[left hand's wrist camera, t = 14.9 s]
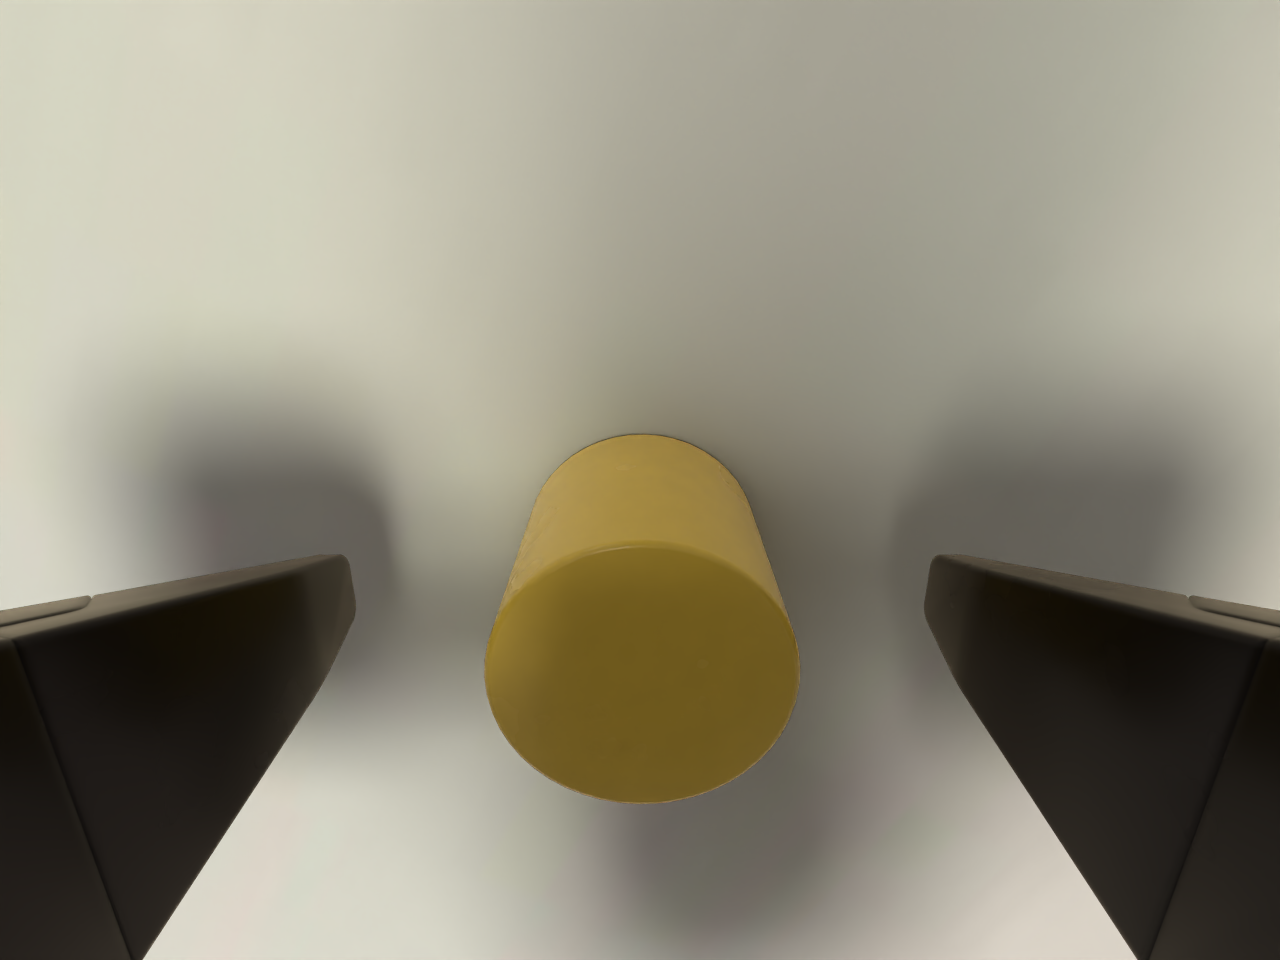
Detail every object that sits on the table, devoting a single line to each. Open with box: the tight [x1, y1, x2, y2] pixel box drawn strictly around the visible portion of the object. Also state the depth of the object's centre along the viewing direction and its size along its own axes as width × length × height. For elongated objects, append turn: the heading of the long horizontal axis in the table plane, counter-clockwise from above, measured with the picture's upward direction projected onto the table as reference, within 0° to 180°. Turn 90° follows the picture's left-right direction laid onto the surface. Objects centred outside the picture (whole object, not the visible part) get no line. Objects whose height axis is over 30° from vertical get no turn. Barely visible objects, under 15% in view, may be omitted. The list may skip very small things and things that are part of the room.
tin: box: [484, 434, 800, 804], centre depth 11 cm, size 4×4×4 cm
